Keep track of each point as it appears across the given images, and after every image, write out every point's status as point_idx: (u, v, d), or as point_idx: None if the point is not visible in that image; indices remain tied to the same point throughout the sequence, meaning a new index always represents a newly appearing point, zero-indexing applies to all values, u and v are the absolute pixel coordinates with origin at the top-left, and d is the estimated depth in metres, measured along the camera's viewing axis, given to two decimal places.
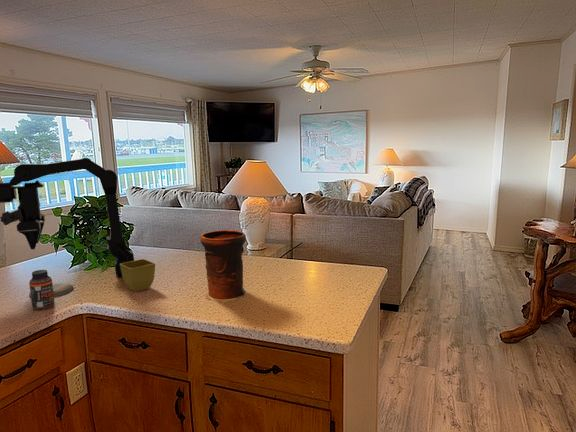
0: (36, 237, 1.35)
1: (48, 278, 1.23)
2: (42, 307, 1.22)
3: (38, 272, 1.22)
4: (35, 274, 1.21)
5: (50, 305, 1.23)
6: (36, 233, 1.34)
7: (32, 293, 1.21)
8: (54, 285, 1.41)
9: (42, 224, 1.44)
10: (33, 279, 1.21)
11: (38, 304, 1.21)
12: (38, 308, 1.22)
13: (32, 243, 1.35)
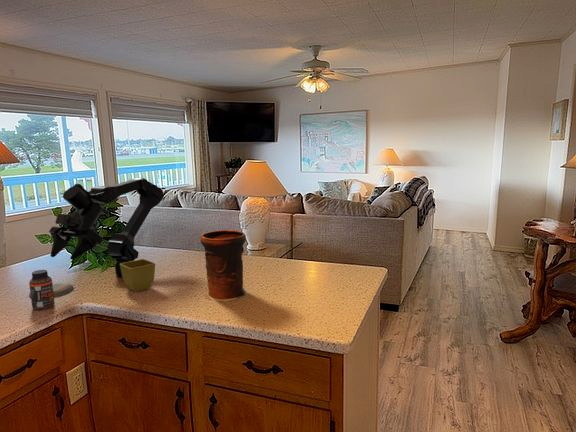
0: (85, 251, 1.30)
1: (48, 278, 1.23)
2: (42, 307, 1.22)
3: (38, 272, 1.22)
4: (35, 274, 1.21)
5: (50, 305, 1.23)
6: (88, 247, 1.31)
7: (32, 293, 1.21)
8: (54, 285, 1.41)
9: (67, 243, 1.36)
10: (33, 279, 1.21)
11: (38, 304, 1.21)
12: (38, 308, 1.22)
13: (77, 254, 1.28)
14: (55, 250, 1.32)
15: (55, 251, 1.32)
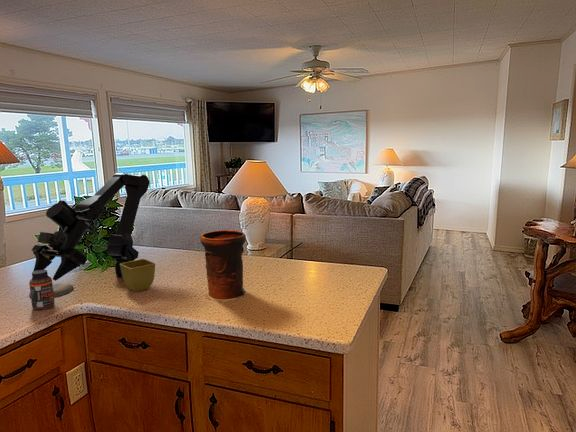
0: (68, 270, 1.25)
1: (48, 278, 1.23)
2: (42, 307, 1.22)
3: (38, 272, 1.22)
4: (35, 274, 1.21)
5: (50, 305, 1.23)
6: (72, 267, 1.26)
7: (32, 293, 1.21)
8: (54, 285, 1.41)
9: (50, 262, 1.31)
10: (33, 279, 1.21)
11: (38, 304, 1.21)
12: (38, 308, 1.22)
13: (60, 274, 1.23)
14: None
15: None
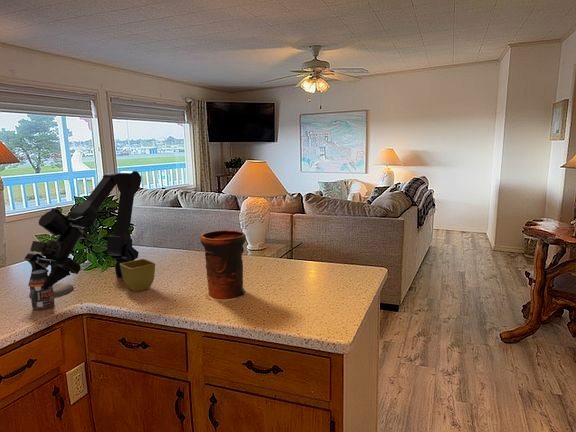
0: (58, 279, 1.24)
1: None
2: (42, 307, 1.22)
3: (38, 272, 1.22)
4: (35, 274, 1.21)
5: (50, 305, 1.23)
6: (62, 275, 1.24)
7: (32, 293, 1.21)
8: (54, 285, 1.41)
9: (47, 271, 1.29)
10: (33, 279, 1.21)
11: (38, 304, 1.21)
12: (38, 308, 1.22)
13: (50, 283, 1.22)
14: None
15: None
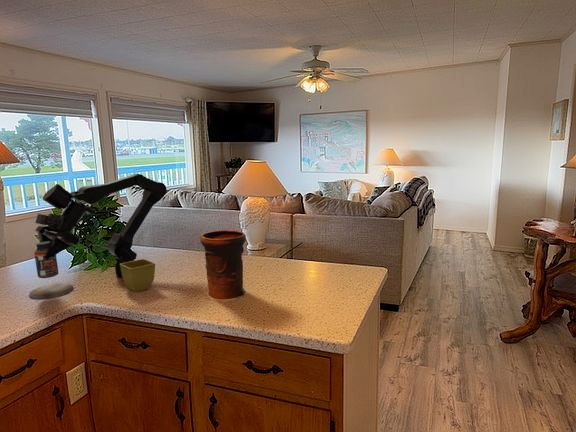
0: (59, 250, 1.32)
1: None
2: (45, 276, 1.31)
3: (41, 243, 1.31)
4: (38, 245, 1.30)
5: (52, 274, 1.32)
6: (63, 247, 1.32)
7: (36, 262, 1.30)
8: (54, 285, 1.41)
9: None
10: (37, 249, 1.30)
11: (41, 272, 1.30)
12: (41, 276, 1.31)
13: (51, 253, 1.30)
14: None
15: None
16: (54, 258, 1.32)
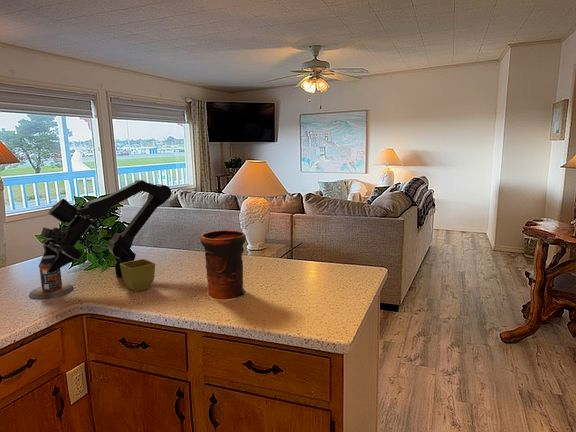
0: (63, 264, 1.34)
1: None
2: (48, 289, 1.34)
3: (46, 257, 1.34)
4: (43, 259, 1.34)
5: (56, 288, 1.35)
6: (67, 261, 1.35)
7: (41, 276, 1.34)
8: None
9: None
10: (42, 263, 1.34)
11: (45, 286, 1.34)
12: (45, 290, 1.34)
13: (55, 267, 1.33)
14: None
15: None
16: (58, 272, 1.36)
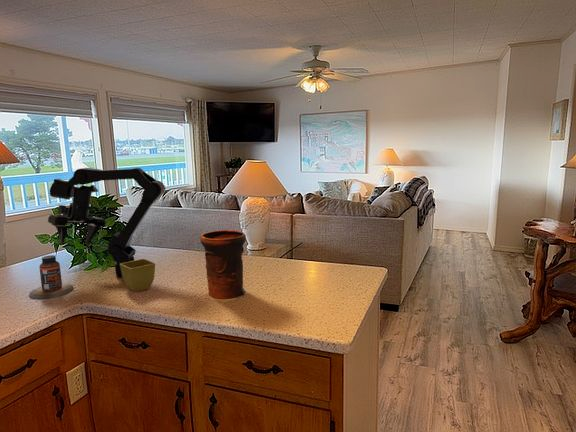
0: (61, 233, 1.43)
1: (55, 263, 1.35)
2: (48, 289, 1.34)
3: (46, 257, 1.34)
4: (43, 259, 1.34)
5: (56, 288, 1.35)
6: None
7: (41, 276, 1.34)
8: None
9: (94, 228, 1.52)
10: (42, 263, 1.34)
11: (45, 286, 1.34)
12: (45, 290, 1.34)
13: (60, 238, 1.45)
14: (87, 237, 1.53)
15: (87, 239, 1.53)
16: (58, 272, 1.36)
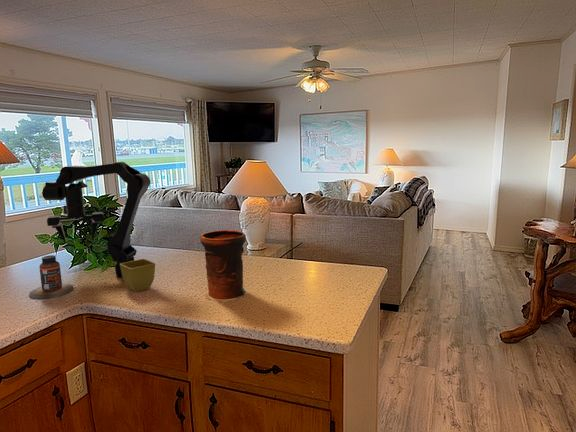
0: None
1: (55, 263, 1.35)
2: (48, 289, 1.34)
3: (46, 257, 1.34)
4: (43, 259, 1.34)
5: (56, 288, 1.35)
6: None
7: (41, 276, 1.34)
8: None
9: (92, 224, 1.52)
10: (42, 263, 1.34)
11: (45, 286, 1.34)
12: (45, 290, 1.34)
13: (62, 237, 1.50)
14: None
15: None
16: (58, 272, 1.36)
